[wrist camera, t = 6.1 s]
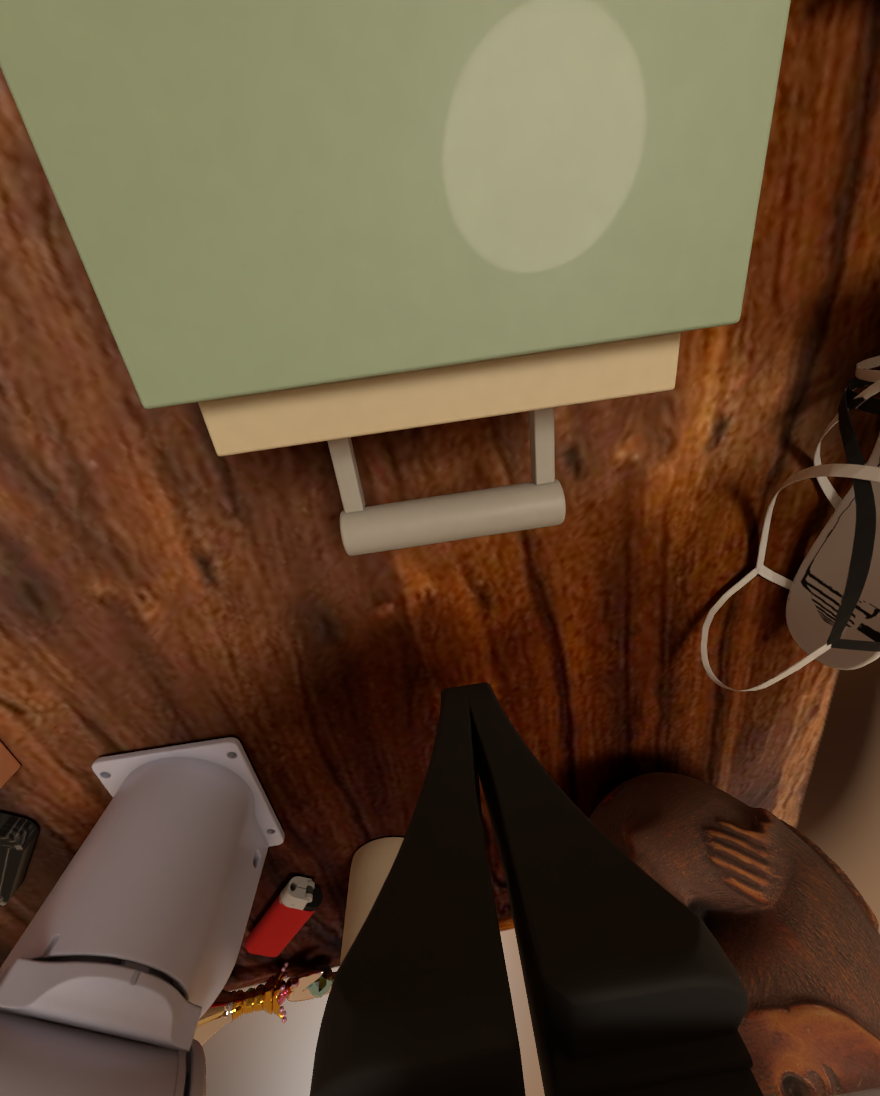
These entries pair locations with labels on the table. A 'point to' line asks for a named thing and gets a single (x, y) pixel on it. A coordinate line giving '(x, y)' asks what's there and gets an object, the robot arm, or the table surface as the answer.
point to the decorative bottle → (264, 998)
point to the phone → (14, 852)
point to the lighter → (284, 917)
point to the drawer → (438, 401)
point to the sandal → (833, 554)
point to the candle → (366, 884)
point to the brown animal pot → (765, 926)
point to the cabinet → (395, 175)
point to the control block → (7, 765)
